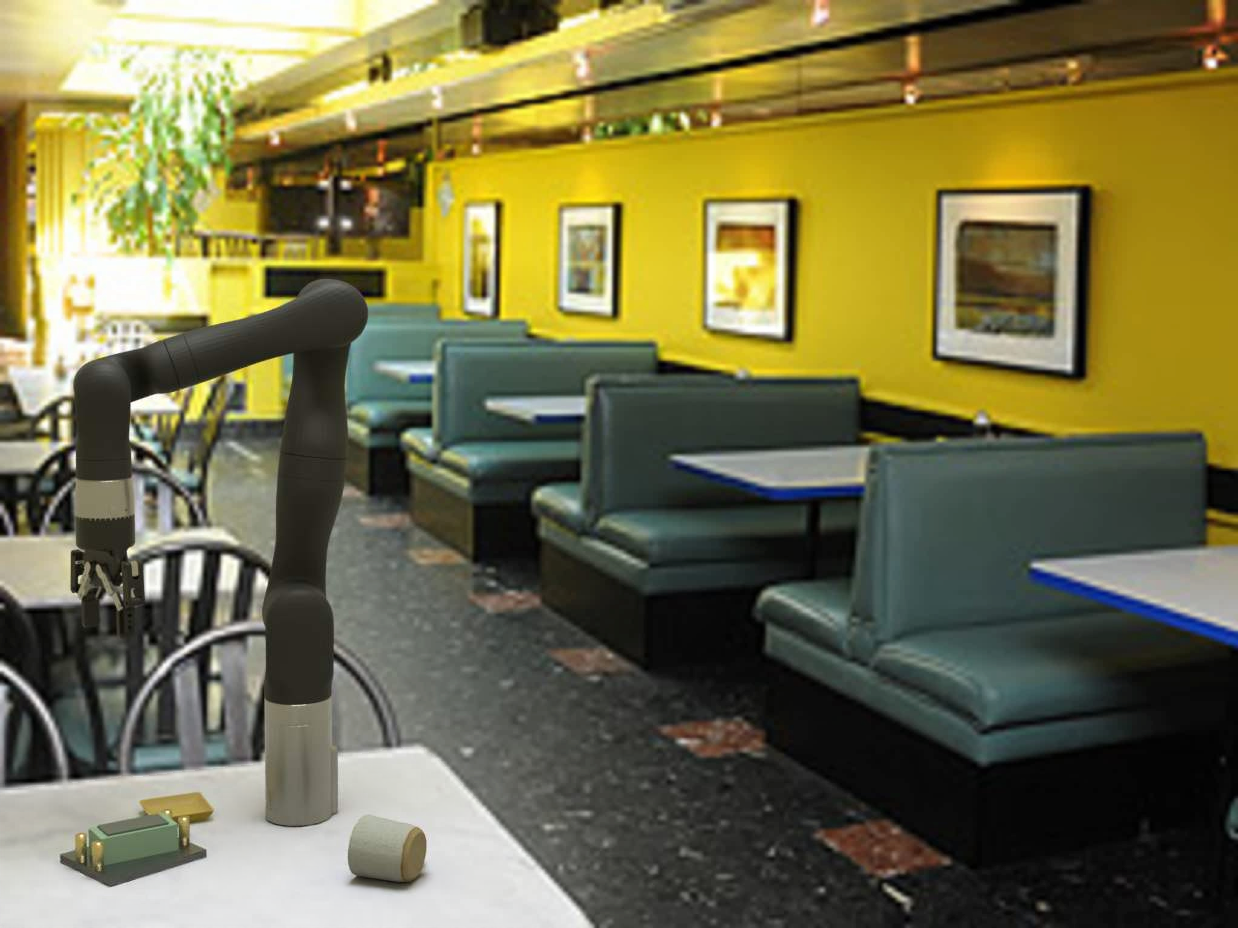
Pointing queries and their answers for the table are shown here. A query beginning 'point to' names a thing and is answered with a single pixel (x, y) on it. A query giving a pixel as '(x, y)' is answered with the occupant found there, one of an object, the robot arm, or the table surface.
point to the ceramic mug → (386, 849)
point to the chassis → (134, 867)
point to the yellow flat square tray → (180, 806)
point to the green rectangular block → (135, 837)
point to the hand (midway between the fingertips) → (107, 631)
